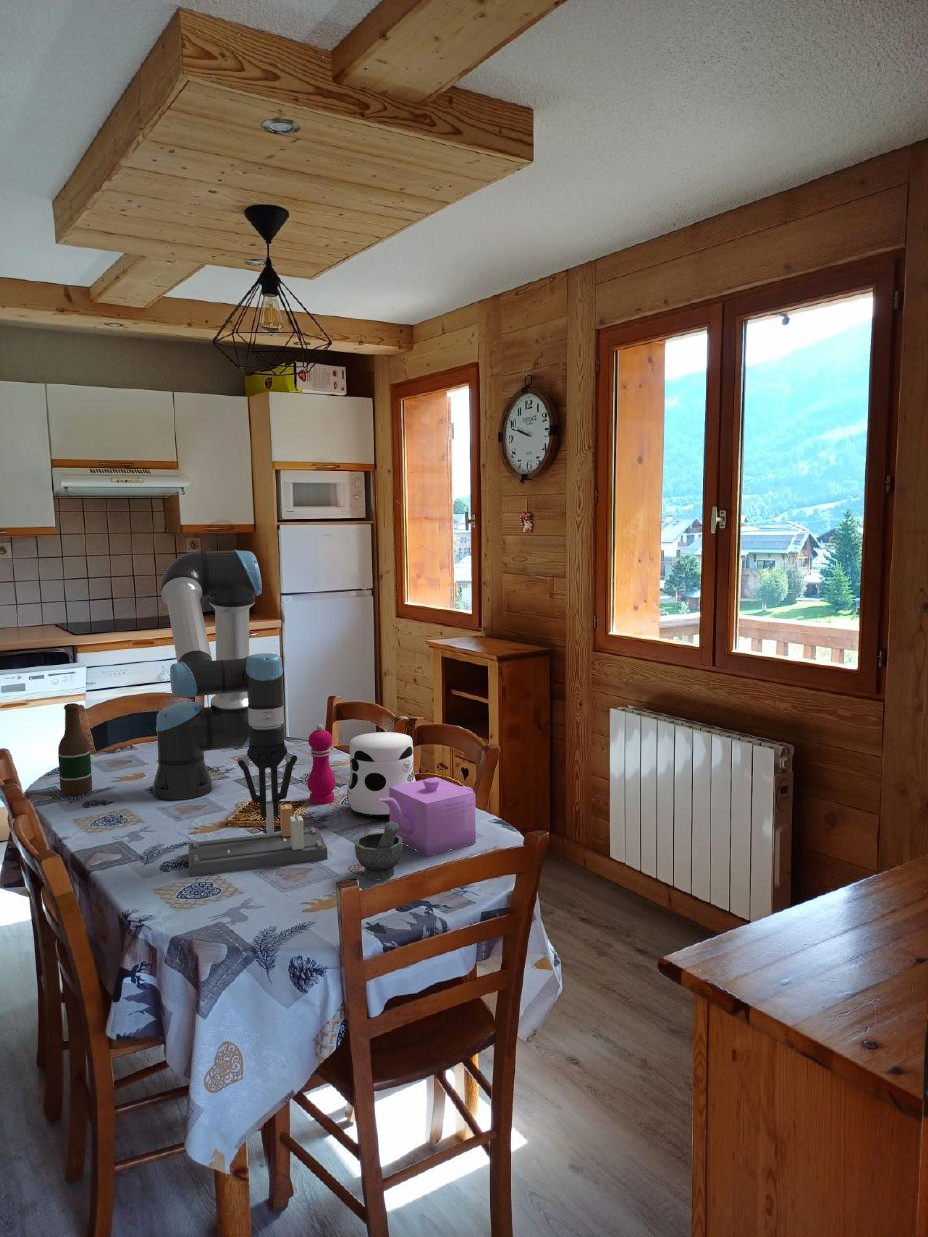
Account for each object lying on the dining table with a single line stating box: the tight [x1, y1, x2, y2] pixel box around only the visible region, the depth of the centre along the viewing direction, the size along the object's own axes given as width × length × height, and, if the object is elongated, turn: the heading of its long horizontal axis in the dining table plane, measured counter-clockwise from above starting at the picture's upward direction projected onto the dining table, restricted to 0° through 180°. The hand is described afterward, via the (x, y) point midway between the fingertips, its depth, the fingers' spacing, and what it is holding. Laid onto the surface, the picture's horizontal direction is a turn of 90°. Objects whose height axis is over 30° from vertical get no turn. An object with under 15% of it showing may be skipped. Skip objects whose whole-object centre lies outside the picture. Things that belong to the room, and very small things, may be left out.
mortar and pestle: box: [354, 821, 403, 880], centre depth 179 cm, size 11×9×12 cm
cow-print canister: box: [346, 731, 417, 818], centre depth 218 cm, size 17×17×18 cm
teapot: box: [379, 776, 477, 857], centre depth 198 cm, size 15×25×14 cm, turn 126°
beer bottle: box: [57, 702, 93, 797], centre depth 236 cm, size 8×8×24 cm
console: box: [187, 826, 328, 877], centre depth 190 cm, size 13×28×3 cm, turn 108°
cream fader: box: [290, 815, 305, 850], centre depth 188 cm, size 3×2×6 cm
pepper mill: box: [306, 723, 337, 805], centre depth 227 cm, size 7×7×20 cm
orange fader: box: [279, 803, 294, 837], centre depth 196 cm, size 3×2×6 cm
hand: (270, 831), depth 195 cm, fingers closed
